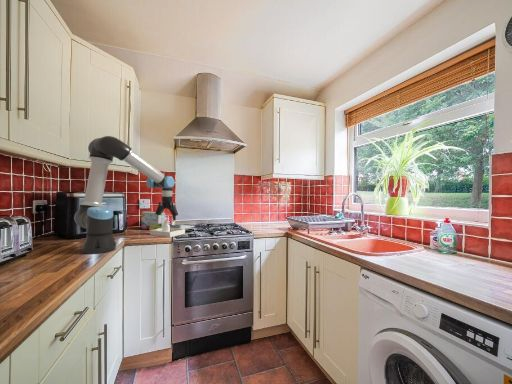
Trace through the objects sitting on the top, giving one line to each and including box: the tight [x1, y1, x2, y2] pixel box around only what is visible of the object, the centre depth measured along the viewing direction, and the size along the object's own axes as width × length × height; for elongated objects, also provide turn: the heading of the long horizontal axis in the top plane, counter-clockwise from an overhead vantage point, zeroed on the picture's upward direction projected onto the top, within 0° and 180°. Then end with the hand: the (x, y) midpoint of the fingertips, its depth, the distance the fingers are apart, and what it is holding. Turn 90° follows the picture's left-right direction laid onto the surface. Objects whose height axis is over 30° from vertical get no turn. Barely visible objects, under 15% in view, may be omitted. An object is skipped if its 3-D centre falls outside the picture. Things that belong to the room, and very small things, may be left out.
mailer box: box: [149, 228, 186, 238], centre depth 171 cm, size 16×20×4 cm
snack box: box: [140, 211, 166, 231], centre depth 192 cm, size 21×6×15 cm, turn 73°
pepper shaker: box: [162, 220, 170, 232], centre depth 170 cm, size 4×4×10 cm
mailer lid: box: [162, 223, 196, 230], centre depth 183 cm, size 16×20×3 cm
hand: (166, 224), depth 170 cm, fingers open, 13 cm apart
